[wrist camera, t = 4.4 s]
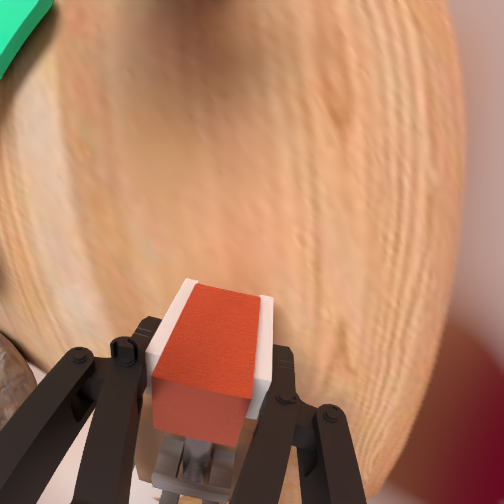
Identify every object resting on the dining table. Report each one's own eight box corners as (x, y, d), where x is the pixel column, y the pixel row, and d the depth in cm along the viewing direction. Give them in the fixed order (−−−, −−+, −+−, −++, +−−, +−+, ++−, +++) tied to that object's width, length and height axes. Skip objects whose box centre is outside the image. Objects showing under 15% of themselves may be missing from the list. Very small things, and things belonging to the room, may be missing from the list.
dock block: (148, 453, 28) (129, 508, 20) (140, 380, 23) (106, 455, 15) (249, 475, 28) (243, 533, 20) (281, 411, 23) (279, 494, 15)
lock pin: (180, 448, 22) (163, 511, 16) (195, 283, 16) (151, 375, 9) (218, 457, 23) (207, 521, 16) (260, 297, 16) (251, 398, 9)
